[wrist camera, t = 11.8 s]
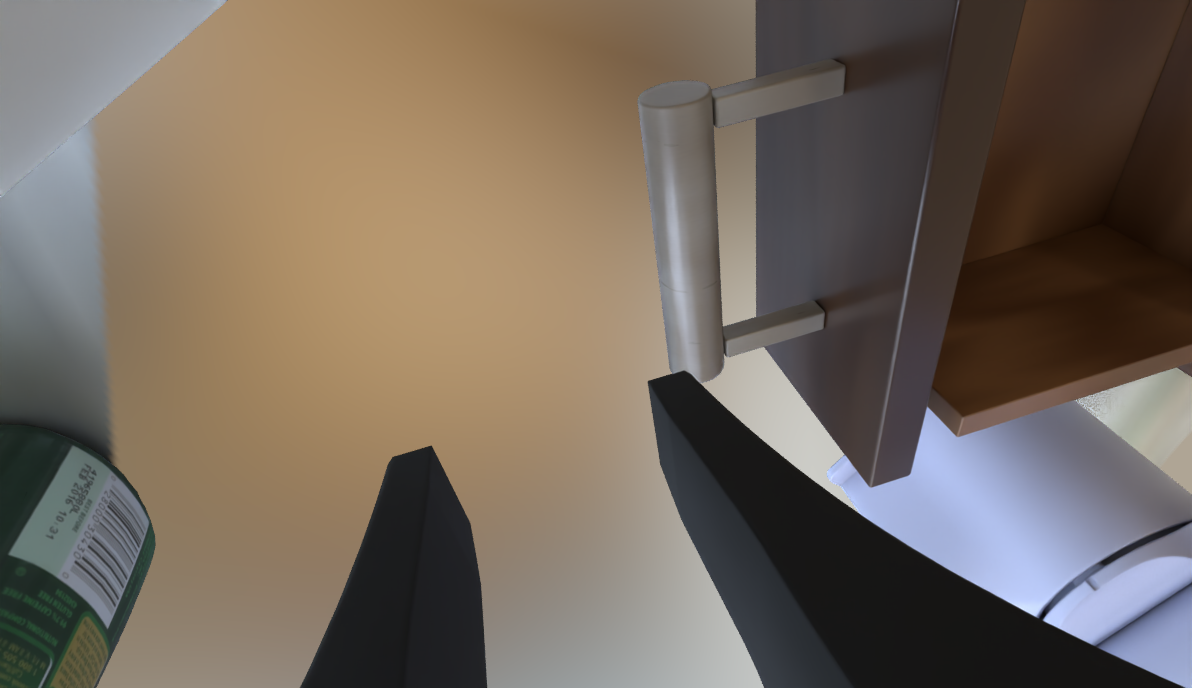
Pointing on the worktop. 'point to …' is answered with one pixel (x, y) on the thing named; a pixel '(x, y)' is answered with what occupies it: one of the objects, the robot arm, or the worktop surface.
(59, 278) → the worktop surface
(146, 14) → the cylindrical container
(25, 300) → the worktop surface
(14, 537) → the coffee jar
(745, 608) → the robot arm
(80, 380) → the worktop surface
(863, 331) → the drawer
